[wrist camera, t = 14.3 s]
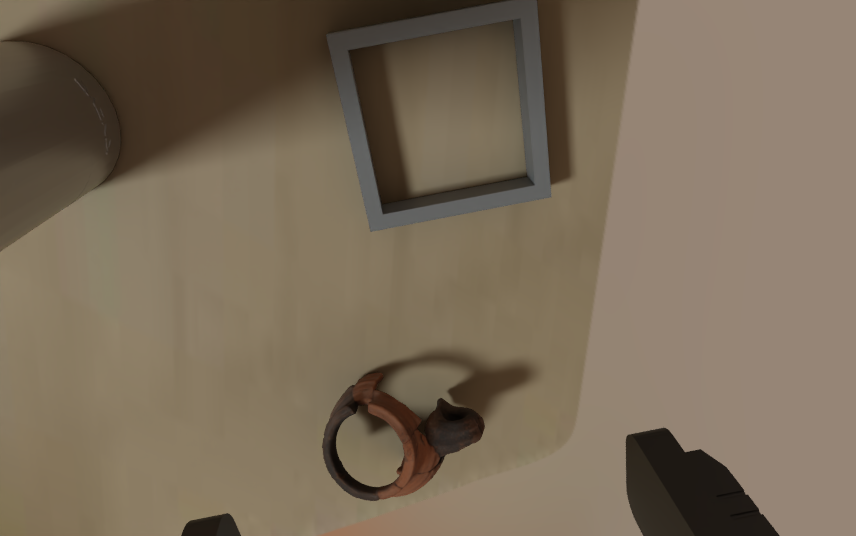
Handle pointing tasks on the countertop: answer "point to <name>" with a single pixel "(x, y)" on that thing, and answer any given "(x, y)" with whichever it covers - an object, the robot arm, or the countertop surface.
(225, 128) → the countertop surface
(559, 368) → the countertop surface
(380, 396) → the brown looped piece
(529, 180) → the square frame
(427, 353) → the countertop surface
